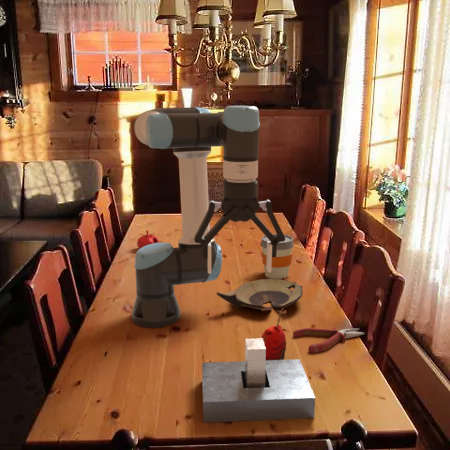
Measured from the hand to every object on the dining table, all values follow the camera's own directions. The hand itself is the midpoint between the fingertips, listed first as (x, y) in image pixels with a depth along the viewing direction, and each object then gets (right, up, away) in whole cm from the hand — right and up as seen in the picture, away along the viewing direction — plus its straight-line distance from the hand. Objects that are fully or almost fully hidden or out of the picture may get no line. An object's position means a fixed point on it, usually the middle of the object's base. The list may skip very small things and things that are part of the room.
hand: (239, 270), depth 112 cm
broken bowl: (+9, -16, +53) cm, 56 cm away
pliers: (+27, -23, +28) cm, 45 cm away
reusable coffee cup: (+17, -9, +80) cm, 82 cm away
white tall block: (+4, -30, +1) cm, 30 cm away
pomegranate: (-38, -1, +112) cm, 118 cm away
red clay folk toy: (+10, -25, +19) cm, 33 cm away
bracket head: (+4, -30, +1) cm, 30 cm away
